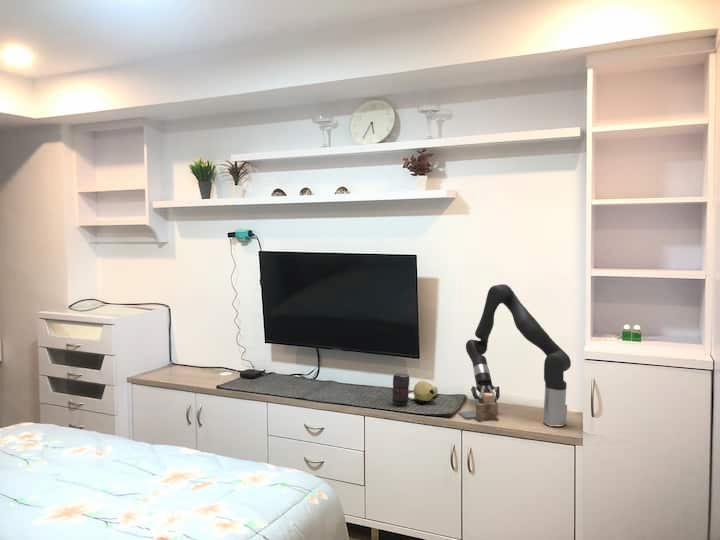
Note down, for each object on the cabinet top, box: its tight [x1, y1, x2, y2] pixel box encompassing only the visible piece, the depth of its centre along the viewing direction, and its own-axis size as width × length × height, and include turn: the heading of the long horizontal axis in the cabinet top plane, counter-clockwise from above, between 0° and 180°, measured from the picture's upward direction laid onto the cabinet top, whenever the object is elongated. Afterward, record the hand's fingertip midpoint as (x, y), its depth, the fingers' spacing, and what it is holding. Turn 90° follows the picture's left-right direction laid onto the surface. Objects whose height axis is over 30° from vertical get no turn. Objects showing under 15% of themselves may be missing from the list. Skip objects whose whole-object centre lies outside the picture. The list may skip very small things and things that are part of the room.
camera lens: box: [391, 372, 410, 408], centre depth 292 cm, size 8×8×15 cm
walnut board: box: [474, 402, 499, 423], centre depth 274 cm, size 10×4×8 cm, turn 106°
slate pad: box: [457, 410, 476, 420], centre depth 279 cm, size 8×8×1 cm
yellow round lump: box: [413, 380, 439, 402], centre depth 298 cm, size 10×12×11 cm
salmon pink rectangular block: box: [482, 393, 496, 404], centre depth 282 cm, size 4×4×10 cm
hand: (488, 406), depth 280 cm, fingers open, 5 cm apart
